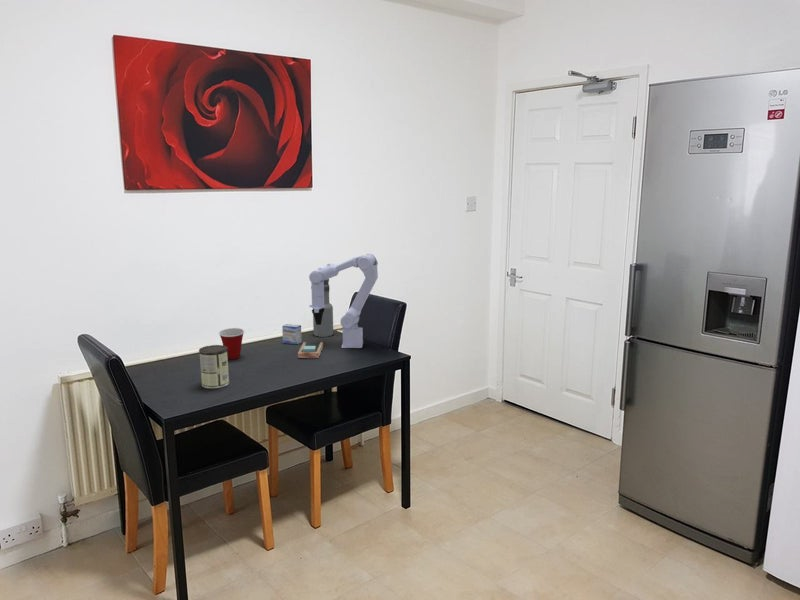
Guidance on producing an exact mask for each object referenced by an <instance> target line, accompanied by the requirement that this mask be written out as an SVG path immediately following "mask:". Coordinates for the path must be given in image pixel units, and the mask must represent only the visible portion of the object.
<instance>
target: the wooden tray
mask: <svg viewBox="0 0 800 600" xmlns="http://www.w3.org/2000/svg"><path fill="white" fill-rule="evenodd" d="M304 346H307V341H302V344H301V346H300V348H299V350H298V352H297V359H298V358H308V360H309V358H311V359H312V358H313V359H314V358H320V357H321V354H322V352H321V351H323V348H324V341H320V343H319V344H318V347H317V348H316V352H303V348H304ZM319 356H320V357H319ZM313 359H312V360H313ZM314 360H315V359H314Z"/></svg>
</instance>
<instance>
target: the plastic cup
mask: <svg viewBox="0 0 800 600" xmlns="http://www.w3.org/2000/svg"><path fill="white" fill-rule="evenodd" d="M244 333H245V330H244V329H243V328H239V327H230V328H225V329H222V330H220V331H219V332H218V335H219V337H220V338H221V339H220V340H221V341H222V345H223V346H226V347H227V355H228V360H237V358H238V359H239V357H241V353H242V352H241V351H242V345H243V339H244V338H243V337H244Z"/></svg>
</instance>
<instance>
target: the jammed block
mask: <svg viewBox="0 0 800 600" xmlns="http://www.w3.org/2000/svg"><path fill="white" fill-rule="evenodd" d="M316 351H317V346H316V345H306V346H304V348H303V352H316Z"/></svg>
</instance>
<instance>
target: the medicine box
mask: <svg viewBox="0 0 800 600" xmlns="http://www.w3.org/2000/svg"><path fill="white" fill-rule="evenodd" d="M281 331H282V344H283V343H288V344H287V345H296V344H298V345H299V343H300V344H301V343H303V341H302V325H300V324H291V323H290V324H289V323H286V324H283V325H282V330H281Z"/></svg>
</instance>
